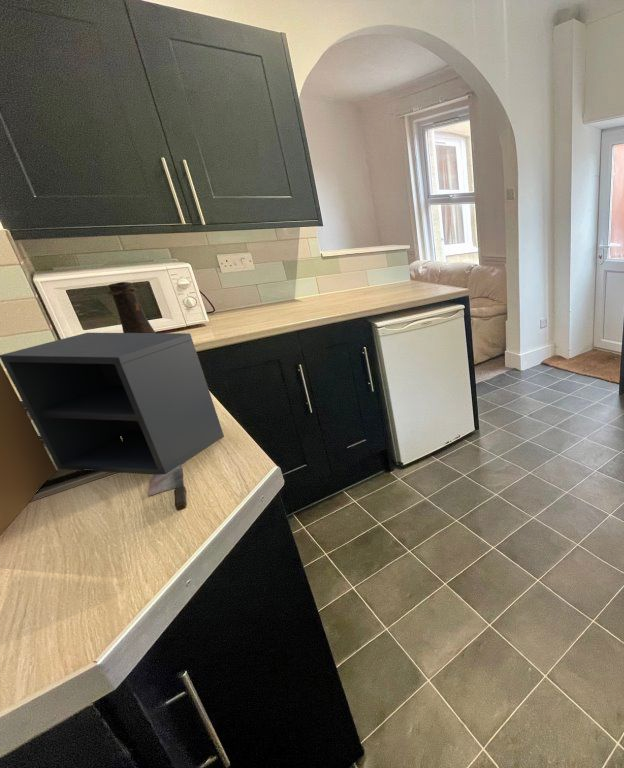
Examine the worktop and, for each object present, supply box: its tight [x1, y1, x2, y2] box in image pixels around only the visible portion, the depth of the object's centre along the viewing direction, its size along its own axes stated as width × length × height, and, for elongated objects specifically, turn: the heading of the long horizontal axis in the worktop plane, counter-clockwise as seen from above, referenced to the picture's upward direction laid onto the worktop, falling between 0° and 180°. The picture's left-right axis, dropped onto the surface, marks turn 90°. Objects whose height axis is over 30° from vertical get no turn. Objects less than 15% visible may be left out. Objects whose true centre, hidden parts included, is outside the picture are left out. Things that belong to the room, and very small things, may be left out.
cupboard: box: [0, 332, 225, 475], centre depth 78 cm, size 14×22×22 cm, turn 83°
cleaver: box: [148, 464, 187, 511], centre depth 71 cm, size 16×1×5 cm
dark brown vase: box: [106, 281, 157, 333], centre depth 111 cm, size 18×18×28 cm
